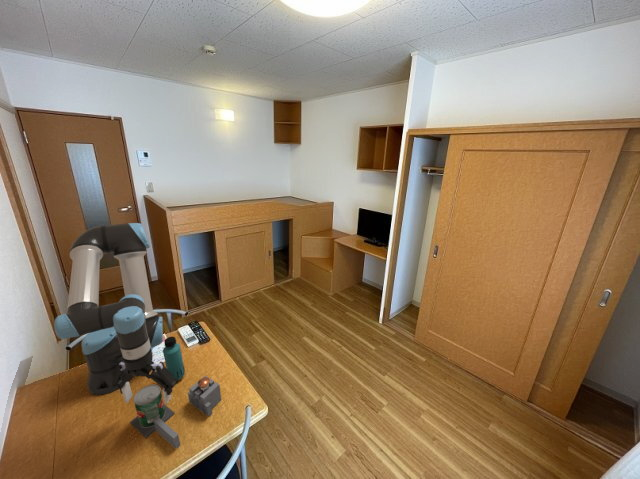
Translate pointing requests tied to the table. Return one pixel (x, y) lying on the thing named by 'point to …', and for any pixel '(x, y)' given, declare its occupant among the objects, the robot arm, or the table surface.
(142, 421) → the canned tomato
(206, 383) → the plunger
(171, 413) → the mat
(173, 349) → the beverage bottle
